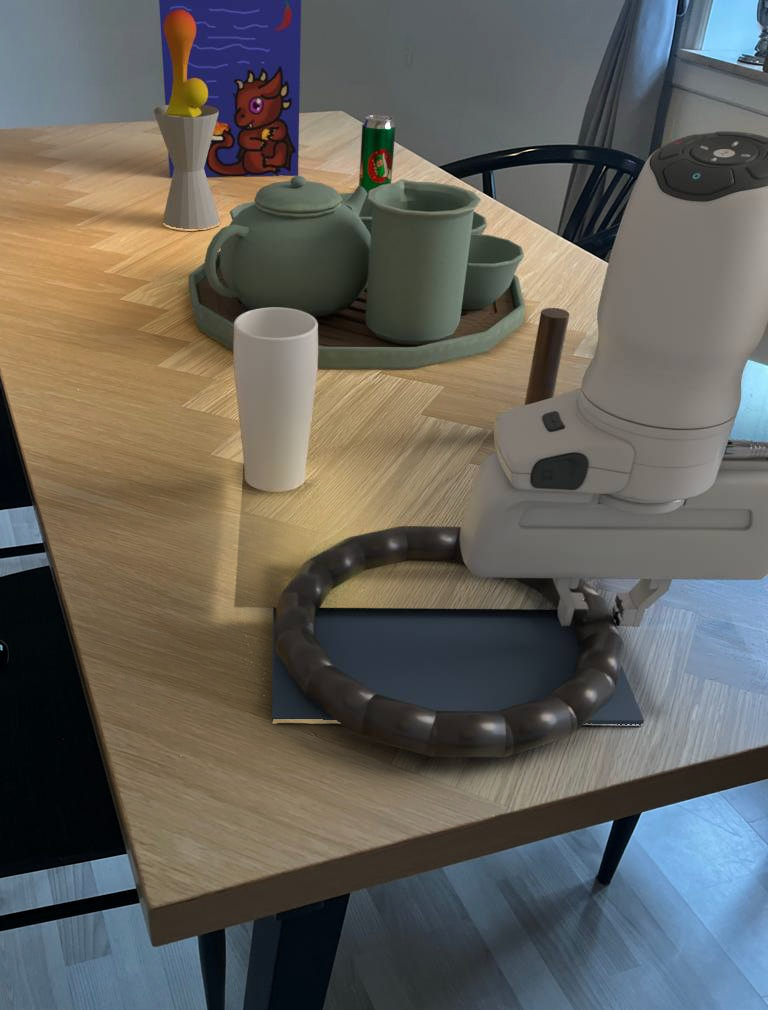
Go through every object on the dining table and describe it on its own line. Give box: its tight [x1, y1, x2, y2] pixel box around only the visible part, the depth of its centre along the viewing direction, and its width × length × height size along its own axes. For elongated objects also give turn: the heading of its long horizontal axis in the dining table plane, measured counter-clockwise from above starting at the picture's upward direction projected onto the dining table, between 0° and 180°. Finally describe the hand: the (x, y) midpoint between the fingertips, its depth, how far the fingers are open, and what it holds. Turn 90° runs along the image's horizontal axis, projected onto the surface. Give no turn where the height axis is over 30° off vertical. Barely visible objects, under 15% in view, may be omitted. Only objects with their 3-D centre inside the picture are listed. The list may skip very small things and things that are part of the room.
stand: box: [523, 307, 570, 406], centre depth 88 cm, size 8×8×13 cm
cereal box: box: [158, 0, 302, 179], centre depth 158 cm, size 22×6×30 cm, turn 96°
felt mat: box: [271, 606, 645, 725], centre depth 69 cm, size 24×15×1 cm, turn 90°
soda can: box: [358, 114, 397, 193], centre depth 151 cm, size 5×5×12 cm
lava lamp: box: [153, 9, 221, 229], centre depth 134 cm, size 9×9×35 cm
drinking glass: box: [232, 307, 319, 493], centre depth 81 cm, size 7×7×15 cm
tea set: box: [187, 175, 526, 371], centre depth 113 cm, size 40×40×16 cm
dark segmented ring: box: [275, 525, 625, 758], centre depth 68 cm, size 24×24×3 cm
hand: (597, 621), depth 67 cm, fingers closed on dark segmented ring, 2 cm apart
